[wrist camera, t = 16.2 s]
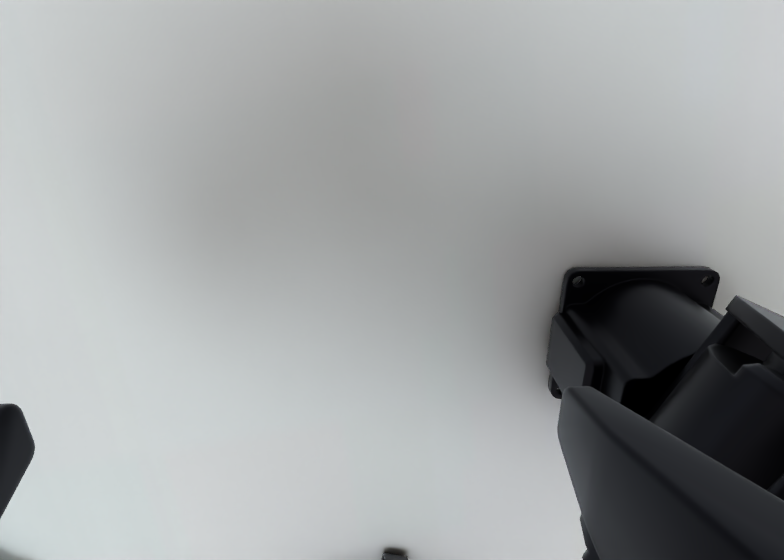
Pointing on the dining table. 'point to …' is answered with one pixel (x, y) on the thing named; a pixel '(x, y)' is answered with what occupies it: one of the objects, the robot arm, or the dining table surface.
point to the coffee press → (393, 557)
